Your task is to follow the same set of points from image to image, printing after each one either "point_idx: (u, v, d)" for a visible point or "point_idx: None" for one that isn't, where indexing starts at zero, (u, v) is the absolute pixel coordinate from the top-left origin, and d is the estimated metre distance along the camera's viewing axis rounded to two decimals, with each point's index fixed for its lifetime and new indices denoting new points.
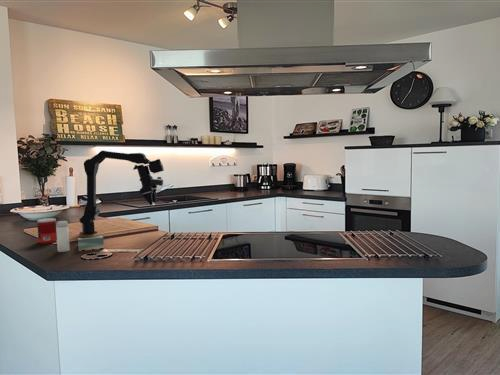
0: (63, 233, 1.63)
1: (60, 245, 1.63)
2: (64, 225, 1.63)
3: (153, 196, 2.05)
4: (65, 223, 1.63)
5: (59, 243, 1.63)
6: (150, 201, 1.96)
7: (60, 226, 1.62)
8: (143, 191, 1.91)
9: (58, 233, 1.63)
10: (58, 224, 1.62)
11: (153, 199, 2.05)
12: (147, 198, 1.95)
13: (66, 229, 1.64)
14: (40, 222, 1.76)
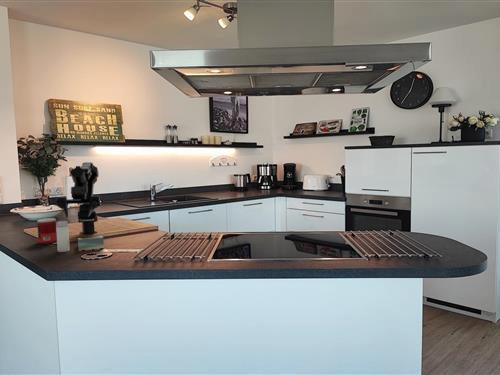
0: (63, 233, 1.63)
1: (60, 245, 1.63)
2: (64, 225, 1.63)
3: None
4: (65, 223, 1.63)
5: (59, 243, 1.63)
6: (65, 213, 1.72)
7: (60, 226, 1.62)
8: None
9: (58, 233, 1.63)
10: (58, 224, 1.62)
11: None
12: None
13: (66, 229, 1.64)
14: (40, 222, 1.76)
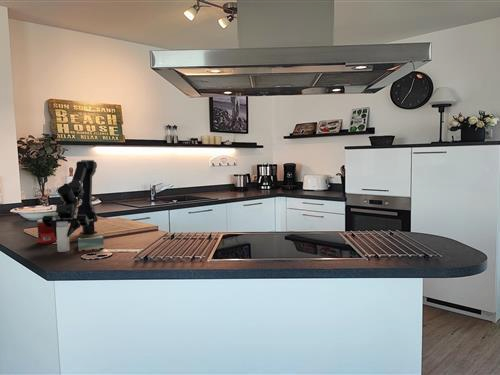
0: (63, 233, 1.63)
1: (60, 245, 1.63)
2: (64, 225, 1.63)
3: None
4: (65, 223, 1.63)
5: (59, 243, 1.63)
6: None
7: (60, 226, 1.62)
8: None
9: (58, 233, 1.63)
10: (58, 224, 1.62)
11: None
12: None
13: (66, 229, 1.64)
14: (40, 222, 1.76)
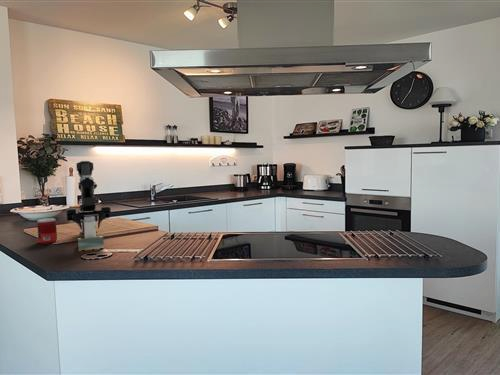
0: (92, 227, 1.68)
1: None
2: (93, 220, 1.69)
3: (98, 221, 1.72)
4: (93, 218, 1.69)
5: (88, 237, 1.68)
6: (79, 225, 1.68)
7: (89, 221, 1.68)
8: None
9: (87, 228, 1.68)
10: (87, 219, 1.67)
11: None
12: (77, 223, 1.70)
13: (94, 223, 1.70)
14: (40, 222, 1.76)
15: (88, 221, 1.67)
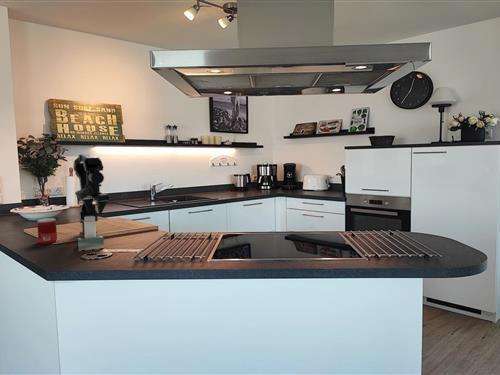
0: (92, 227, 1.69)
1: None
2: (93, 219, 1.69)
3: None
4: (94, 217, 1.70)
5: (88, 237, 1.68)
6: None
7: (90, 221, 1.68)
8: None
9: (87, 227, 1.68)
10: (87, 219, 1.68)
11: None
12: None
13: (94, 223, 1.70)
14: (40, 222, 1.76)
15: (88, 221, 1.68)
